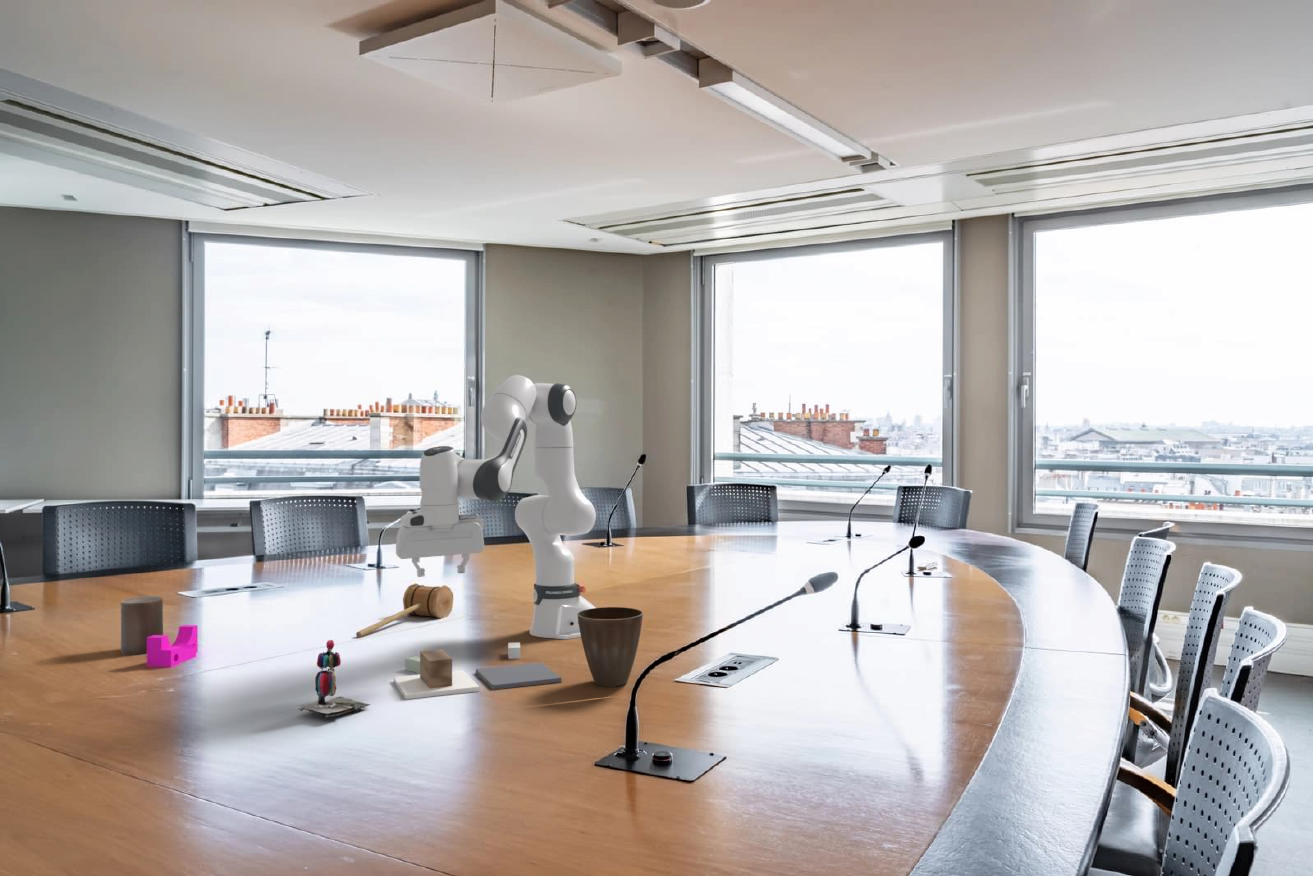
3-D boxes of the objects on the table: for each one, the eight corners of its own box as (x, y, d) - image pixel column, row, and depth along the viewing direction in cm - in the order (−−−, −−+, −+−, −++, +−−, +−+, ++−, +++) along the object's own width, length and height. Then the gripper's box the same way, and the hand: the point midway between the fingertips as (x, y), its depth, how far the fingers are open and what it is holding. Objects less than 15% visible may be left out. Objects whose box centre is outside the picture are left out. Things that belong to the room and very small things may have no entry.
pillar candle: (169, 652, 248) (168, 594, 248) (128, 658, 241) (128, 599, 241) (155, 646, 254) (154, 590, 254) (114, 652, 247) (114, 594, 247)
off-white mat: (463, 674, 225) (463, 670, 225) (479, 691, 211) (479, 686, 211) (393, 681, 219) (393, 677, 219) (405, 699, 204) (405, 694, 204)
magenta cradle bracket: (171, 669, 231) (171, 638, 231) (146, 668, 232) (146, 637, 232) (206, 654, 246) (206, 625, 246) (183, 654, 247) (183, 625, 247)
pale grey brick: (508, 654, 247) (508, 642, 247) (520, 654, 247) (520, 642, 247) (508, 660, 241) (508, 648, 241) (520, 659, 241) (520, 647, 241)
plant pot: (593, 695, 208) (593, 621, 208) (567, 679, 221) (567, 610, 221) (654, 686, 215) (654, 615, 215) (625, 671, 228) (625, 604, 228)
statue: (327, 723, 188) (327, 647, 188) (296, 716, 193) (296, 642, 193) (370, 710, 197) (370, 637, 197) (340, 703, 202) (340, 632, 202)
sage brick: (405, 670, 230) (405, 658, 230) (415, 668, 232) (415, 656, 232) (421, 674, 226) (421, 661, 226) (431, 672, 228) (431, 659, 228)
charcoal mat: (540, 666, 233) (540, 662, 233) (561, 682, 219) (561, 677, 219) (475, 673, 227) (475, 668, 227) (492, 689, 212) (492, 685, 212)
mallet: (342, 650, 266) (339, 615, 265) (422, 610, 301) (420, 579, 300) (378, 654, 262) (375, 618, 261) (455, 613, 296) (453, 582, 295)
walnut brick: (442, 675, 220) (442, 649, 220) (452, 685, 211) (452, 658, 211) (420, 677, 218) (420, 651, 218) (429, 688, 209) (429, 661, 209)
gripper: (480, 512, 231) (481, 568, 232) (393, 517, 223) (395, 576, 223) (486, 514, 226) (488, 572, 226) (398, 520, 217) (399, 580, 217)
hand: (441, 574), depth 225 cm, fingers open, 8 cm apart
